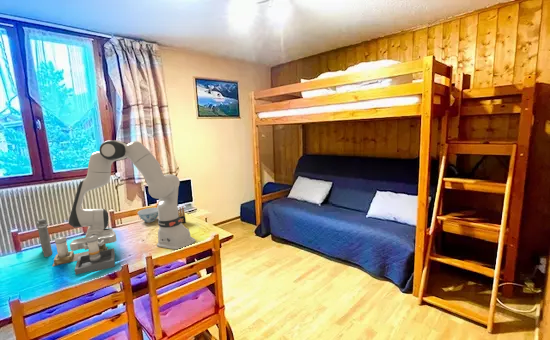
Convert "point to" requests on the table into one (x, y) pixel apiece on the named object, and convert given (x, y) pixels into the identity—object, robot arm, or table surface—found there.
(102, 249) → the fuse block
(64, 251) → the cylinder
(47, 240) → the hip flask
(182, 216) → the ammunition clip
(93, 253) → the cylinder
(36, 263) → the table surface
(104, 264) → the tray
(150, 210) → the chinaware
